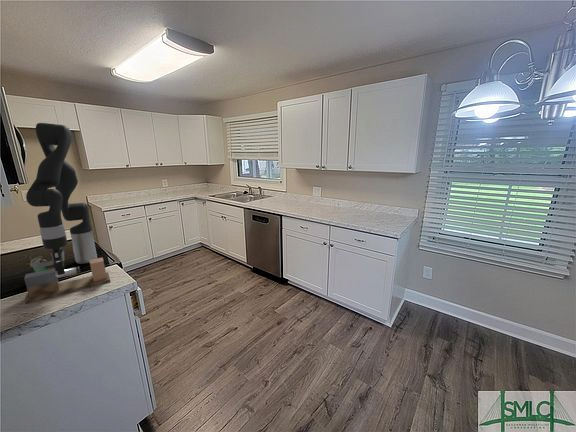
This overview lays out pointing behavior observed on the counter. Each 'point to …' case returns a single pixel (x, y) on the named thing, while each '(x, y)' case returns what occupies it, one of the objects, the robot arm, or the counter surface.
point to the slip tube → (69, 272)
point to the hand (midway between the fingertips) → (62, 270)
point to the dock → (61, 288)
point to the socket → (98, 269)
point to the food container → (41, 264)
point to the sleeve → (40, 277)
